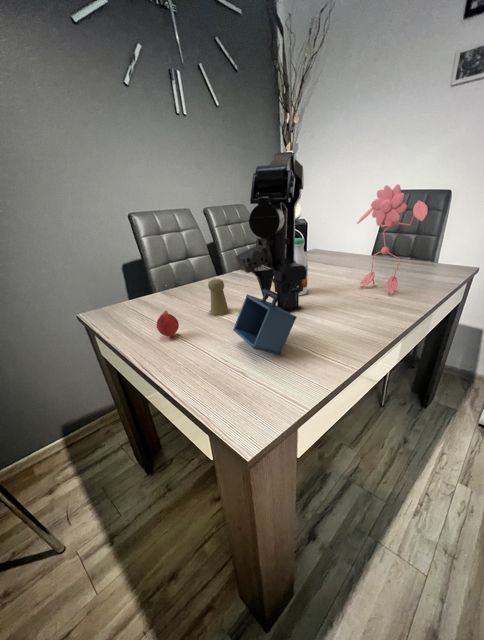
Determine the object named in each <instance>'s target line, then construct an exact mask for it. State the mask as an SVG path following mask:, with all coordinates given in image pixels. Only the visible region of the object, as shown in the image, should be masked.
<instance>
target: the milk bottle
mask: <svg viewBox="0 0 484 640" xmlns="http://www.w3.org/2000/svg"><path fill="white" fill-rule="evenodd" d="M304 246H305V238H303V237H295V261H296V263H297V264H301V265H304V266H305V268H306V269H307V277H306V279H303V291H301V292H300V293H299V296H303V295H306V294H307V292H308V272H309V271H308V269H309V265H308V264H309V263H308V258H307V257H308V256H307V255H306V252H305V249H304ZM297 287H299V286H297Z"/></svg>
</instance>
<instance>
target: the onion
mask: <svg viewBox="0 0 484 640" xmlns="http://www.w3.org/2000/svg"><path fill="white" fill-rule="evenodd" d="M179 324H180V323H179V320H178V319H177V318H176V317H175V316H174V315H173V314H171V313H169V311H168V310H163V312H162V313H161V314H160V315H159V317H158V318H157V321H156V328H157V331H158V332H159V333H160V334H161V335H162V336H165V337H169V338H172V337H173V336H174V335H175V334H176V333H177V332H178V330H179V328H180V325H179Z"/></svg>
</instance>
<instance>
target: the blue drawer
mask: <svg viewBox="0 0 484 640" xmlns="http://www.w3.org/2000/svg"><path fill="white" fill-rule="evenodd" d="M262 292H263V293H264V296H263V295H262V298H259V297H256V296H253V295H250V294H248V293H247V294H246V296H245V298H244V301H243V303H242V306H241V308H240V311H239V313H238V316H237V318H236V321H235V324H234V326H233V329H232V331H233V332H235V333H236V334H237V335H238V336H239V337H240V338H241V339H242V340H243V341H244V342H246V343H247V344H248V345H249V346H250V347H251V348H252V349H254V350H257V351H258V350H259V351H263V352H268V353H272V354H276V355H281V353H282V351H283V349H284V347H285V344H286V343H287V340H288V338H289V335H290V333H291V332H292V331H291V330H292V329H293V326H294V324H295V322H296V320H297V316H296V315H294V314H292V313H290V312H287V311H285V310H283V309H281V308H279V307H278V306H277V301H278V300H277V292H275V291H272V290H271V289H270V290H269V289H266V288H264V289H263V291H262ZM262 292H261V293H262ZM268 296H269V297H268ZM267 297H268V298H271V299H272V300H271V302H269V301H267V300H268V299H267Z"/></svg>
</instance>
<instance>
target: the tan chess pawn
mask: <svg viewBox="0 0 484 640" xmlns="http://www.w3.org/2000/svg"><path fill="white" fill-rule="evenodd" d="M207 283H208V284H207V288H208V289H209V292H210V313H211V315H213V316H222V315H226V314H228V313H229V308H228V303H227V299H226V296H225V292H224V291H225V290H224V288H225V282H224V281H223V280H222V279H217V278H215V279H211V280H209V281H208V282H207Z"/></svg>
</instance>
